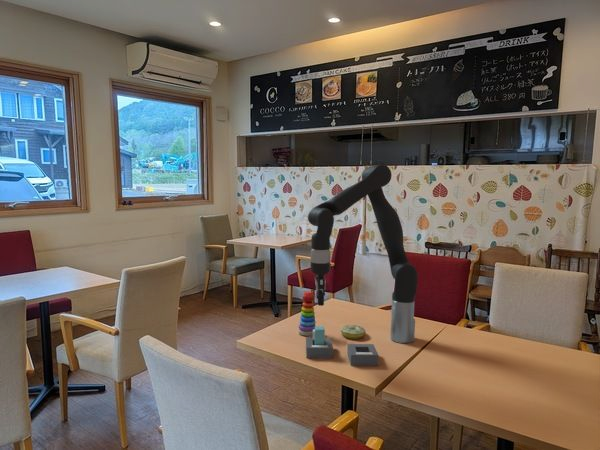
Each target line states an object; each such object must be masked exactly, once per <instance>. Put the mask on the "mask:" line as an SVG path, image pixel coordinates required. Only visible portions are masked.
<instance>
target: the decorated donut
mask: <svg viewBox="0 0 600 450" xmlns="http://www.w3.org/2000/svg"><path fill="white" fill-rule="evenodd" d="M340 332H341V335H342V336H343V337H344V338H346V339H349V340H359V339H363V338H364V336H365V335H366V332H367V331H366V329H365V328H364V327H363V326H361V325H357V324H347V325H344V326H342V327H341V329H340Z"/></svg>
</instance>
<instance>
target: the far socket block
mask: <svg viewBox="0 0 600 450" xmlns="http://www.w3.org/2000/svg"><path fill="white" fill-rule="evenodd" d="M314 342H315V339H313V337H305V354H306V356H305V357H306V359H333V358H334V346H333V342H332V338H331V337H325V340H324V345H314Z"/></svg>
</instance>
